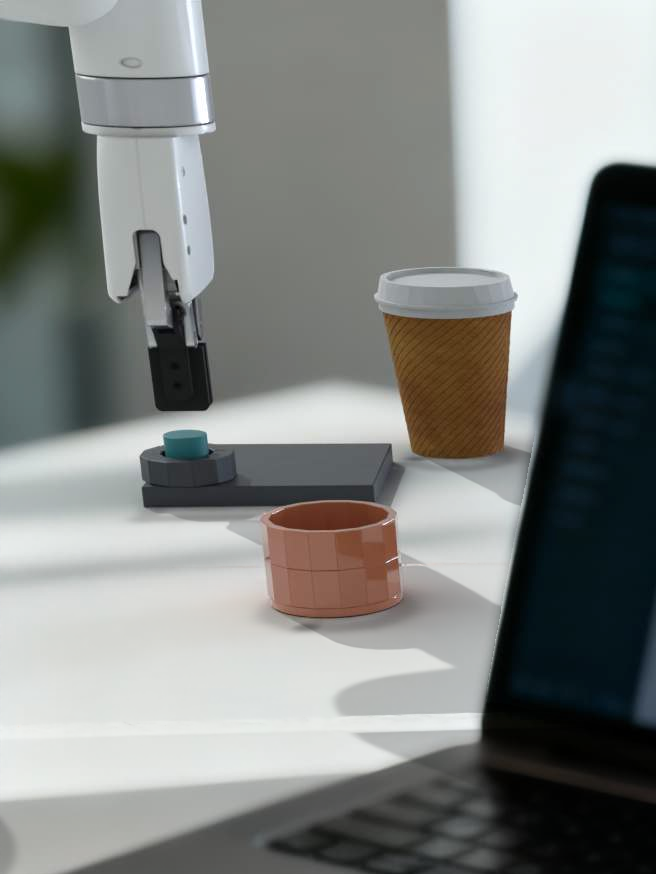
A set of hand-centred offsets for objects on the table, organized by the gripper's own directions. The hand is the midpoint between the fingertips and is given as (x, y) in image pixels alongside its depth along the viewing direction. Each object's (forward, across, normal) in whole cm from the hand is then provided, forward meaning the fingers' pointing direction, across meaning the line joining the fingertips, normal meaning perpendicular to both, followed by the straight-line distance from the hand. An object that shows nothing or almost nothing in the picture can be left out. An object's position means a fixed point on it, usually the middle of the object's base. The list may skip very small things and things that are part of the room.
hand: (185, 407), depth 150 cm
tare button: (+3, 0, 0) cm, 3 cm away
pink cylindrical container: (+6, +24, +11) cm, 27 cm away
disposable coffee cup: (+6, -13, +15) cm, 21 cm away
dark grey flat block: (+6, -3, +4) cm, 8 cm away
